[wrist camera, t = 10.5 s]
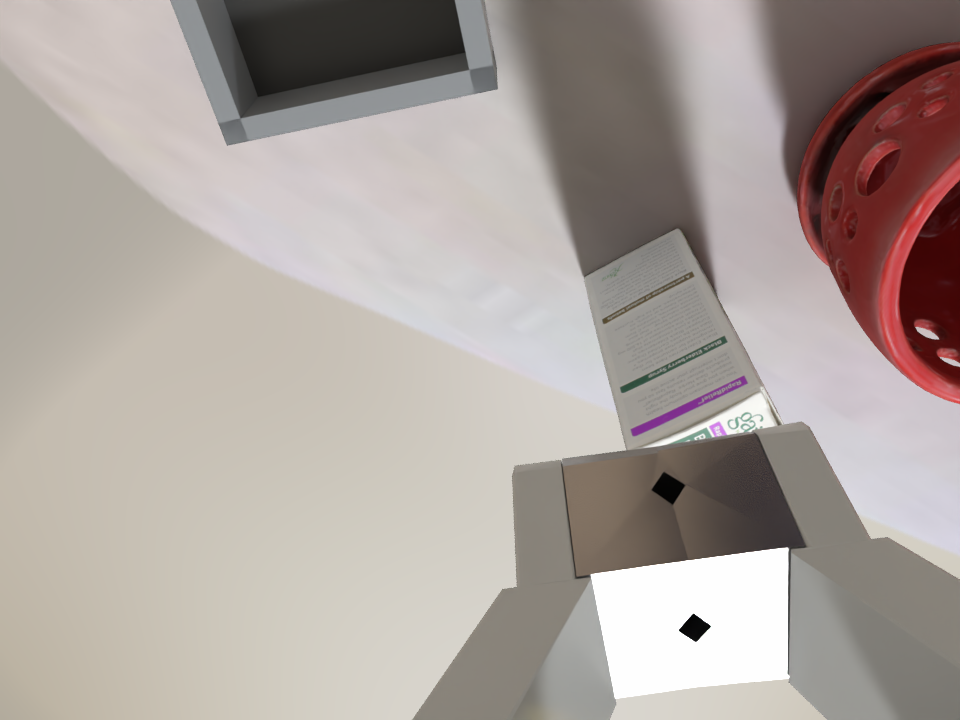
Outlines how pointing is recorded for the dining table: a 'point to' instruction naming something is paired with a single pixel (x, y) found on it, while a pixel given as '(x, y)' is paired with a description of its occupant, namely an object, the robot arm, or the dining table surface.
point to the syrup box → (672, 350)
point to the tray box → (332, 58)
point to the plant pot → (894, 210)
